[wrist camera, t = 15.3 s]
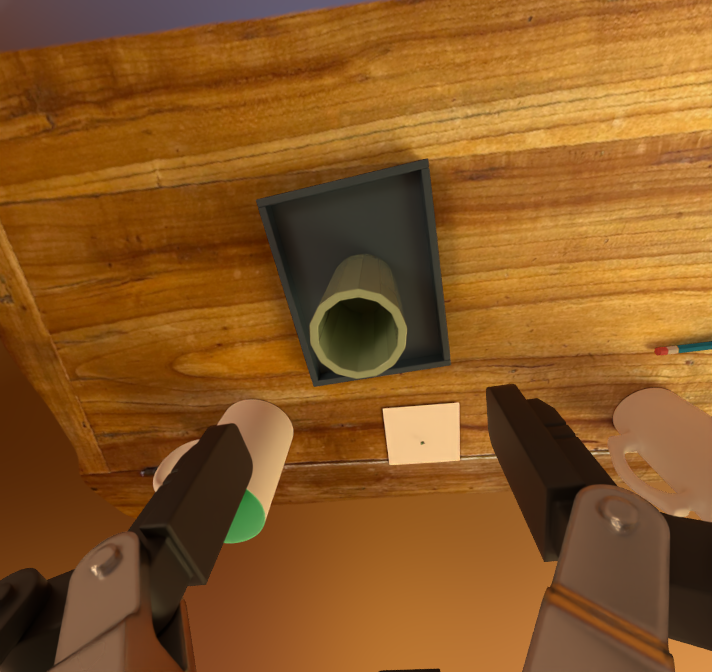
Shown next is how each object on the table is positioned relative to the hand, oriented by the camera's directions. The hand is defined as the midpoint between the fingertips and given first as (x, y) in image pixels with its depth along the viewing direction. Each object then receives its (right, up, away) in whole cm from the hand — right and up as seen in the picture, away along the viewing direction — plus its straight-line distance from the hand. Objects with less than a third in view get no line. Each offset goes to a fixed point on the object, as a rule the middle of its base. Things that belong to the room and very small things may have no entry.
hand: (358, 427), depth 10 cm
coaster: (+7, -8, +26) cm, 28 cm away
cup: (+1, +7, +19) cm, 20 cm away
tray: (+1, +8, +19) cm, 21 cm away
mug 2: (+28, -5, +24) cm, 37 cm away
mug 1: (-13, -8, +27) cm, 31 cm away
